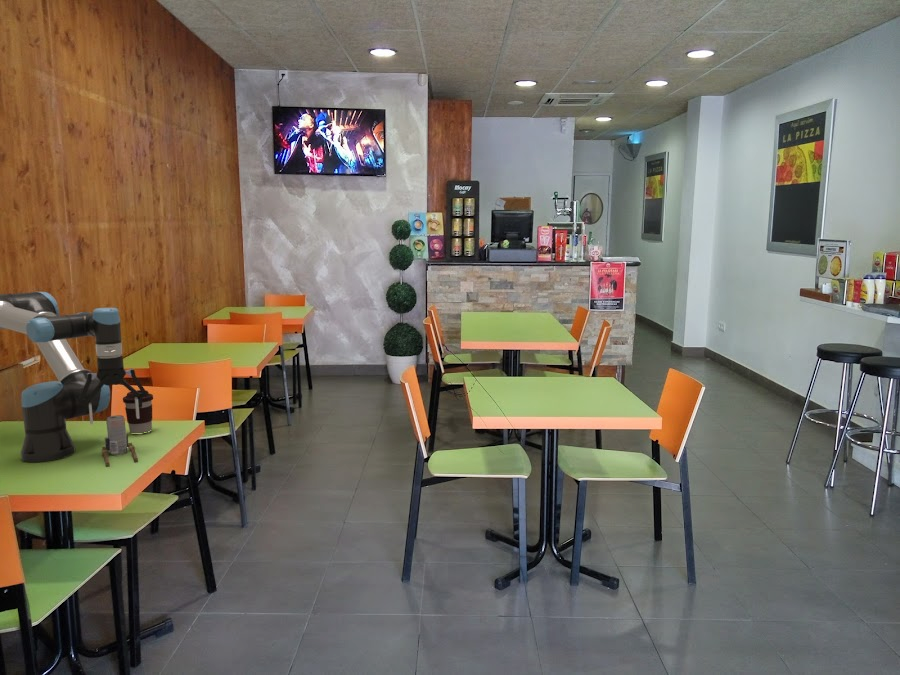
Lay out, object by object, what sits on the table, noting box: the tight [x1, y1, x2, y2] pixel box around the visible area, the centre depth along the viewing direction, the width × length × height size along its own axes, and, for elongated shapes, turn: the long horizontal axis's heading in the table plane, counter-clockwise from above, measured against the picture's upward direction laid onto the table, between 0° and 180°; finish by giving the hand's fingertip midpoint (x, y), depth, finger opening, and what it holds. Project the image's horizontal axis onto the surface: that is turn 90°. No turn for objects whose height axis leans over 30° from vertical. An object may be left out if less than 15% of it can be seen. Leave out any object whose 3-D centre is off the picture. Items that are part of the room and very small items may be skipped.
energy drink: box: [106, 414, 129, 456], centre depth 227 cm, size 5×5×12 cm
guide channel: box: [101, 442, 139, 468], centre depth 224 cm, size 10×20×1 cm, turn 29°
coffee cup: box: [122, 389, 154, 433], centre depth 251 cm, size 10×10×15 cm
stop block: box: [104, 434, 129, 451], centre depth 233 cm, size 7×2×4 cm, turn 119°
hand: (115, 420), depth 227 cm, fingers open, 13 cm apart
